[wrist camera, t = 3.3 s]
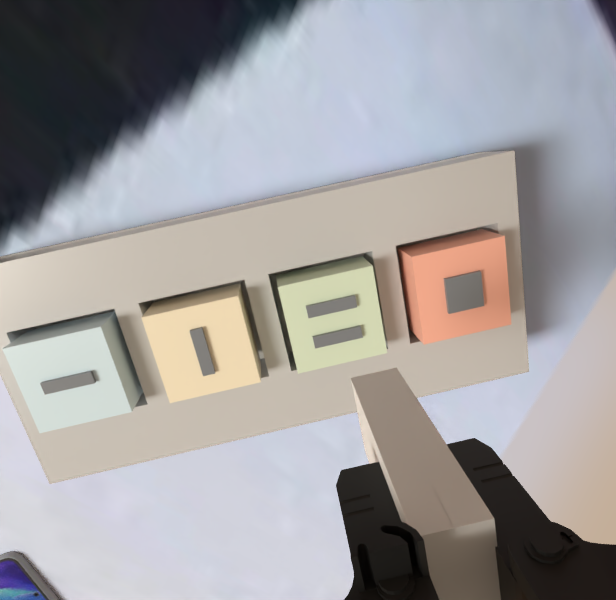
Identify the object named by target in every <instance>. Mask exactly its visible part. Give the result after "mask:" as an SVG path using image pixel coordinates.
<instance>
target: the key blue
mask: <svg viewBox="0 0 616 600" xmlns="http://www.w3.org/2000/svg"><path fill="white" fill-rule="evenodd" d="M2 350H3V352H4V354H5V356H6V359H7V361H8V363H9V365H10V368H11V370H12V372H13V375H14V377H15V379H16V381H17V384H18V386H19V388H20V390H21V393H22V395H23V397H24V399H25V402H26V404H27V406H28V408H29V411H30V413H31V415H32V417H33V420H34V422H35V424H36V426H37V429H38V431H39V433H43V432H48V431H52V430H56V429H61V428H65V427H69V426H74V425H78V424H82V423H87V422H91V421H95V420H100V419H104V418H108V417H113V416H117V415H121V414H126V413H130V412H132V411H133V409H134V407H135V406H136V404H137V402H138V400H139V398H140V396H141V394H142V392H143V389H142V386H141V383H140V381H139V378H138V375H137V372H136V369H135V366H134V364H133V361H132V358H131V355H130V352H129V349H128V347H127V344H126V341H125V338H124V335H123V332H122V330H121V327H120V324H119V321H118V318H117V315H116V313H115V311H114V312H109V313H105V314H101V315H96V316H92V317H87V318H83V319H78V320H74V321H69V322H65V323H60V324H56V325H51V326H47V327H42V328H38V329H33V330H29V331H27V332H25V333H24V334H22V335H21V336H20V337H18V338H17V339H15V340H14V341H13V342H11V343H10V344H8V345H7V346H5V347H4V348H3V349H2Z"/></svg>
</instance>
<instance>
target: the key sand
mask: <svg viewBox="0 0 616 600" xmlns="http://www.w3.org/2000/svg"><path fill="white" fill-rule="evenodd" d="M141 319H142V322H143V325H144V328H145V331H146V334H147V336H148V339H149V342H150V345H151V348H152V351H153V354H154V357H155V360H156V363H157V366H158V369H159V372H160V375H161V378H162V381H163V384H164V387H165V390H166V393H167V396H168V399H169V402H170V403H173V402H178V401H182V400H186V399H191V398H195V397H199V396H204V395H208V394H212V393H217V392H221V391H225V390H230V389H234V388H238V387H243V386H247V385H251V384H256V383H260V382H261V361H260V357H259V353H258V349H257V345H256V341H255V338H254V334H253V330H252V326H251V322H250V318H249V314H248V311H247V307H246V303H245V299H244V295H243V291H242V287H241V284H240V283H239V284H235V285H230V286H226V287H221V288H217V289H212V290H208V291H203V292H199V293H194V294H190V295H185V296H181V297H176V298H172V299H168V300H163V301H159V302H154V303H152V305H151V306H150V307H149V308H148V310H147V311H146V312H145V313H144V315H143V316H142V317H141Z"/></svg>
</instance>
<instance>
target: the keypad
mask: <svg viewBox="0 0 616 600" xmlns="http://www.w3.org/2000/svg"><path fill="white" fill-rule="evenodd" d="M480 229H483V230H486V231H490V232H493V233H497V234H500V235H503V236H505V245H506V258H507V271H508V284H509V297H510V310H511V323H512V324H511V325H507V326H502V327H498V328H494V329H490V330H485V331H481V332H477V333H472V334H468V335H464V336H459V337H455V338H451V339H446V340H442V341H438V342H433V343H429V344H425V345H424V344H423V343H422V342H421V341H420V340H419V339H418V338H417V336H416V335H415V334H414V333H413V332H412V331H411V330H410V329H409V323H408V316H407V310H406V303H405V296H404V289H403V283H402V276H401V269H400V263H399V256H398V249H397V248H400V247H404V246H409V245H413V244H418V243H422V242H427V241H431V240H436V239H440V238H445V237H449V236H454V235H458V234H462V233H467V232H471V231H476V230H480ZM360 256H363V257H364V258H365V259H366V260H367V261H368V262H369V263H370V264H371V265H372V266H373V271H374V277H375V283H376V289H377V295H378V301H379V307H380V313H381V319H382V325H383V331H384V337H385V343H386V348H387V353H386V354H381V355H377V356H373V357H368V358H364V359H360V360H355V361H351V362H347V363H342V364H338V365H334V366H329V367H325V368H321V369H316V370H312V371H308V372H303V373H299V374H298V372H297V367H296V363H295V359H294V355H293V350H292V346H291V342H290V338H289V333H288V329H287V325H286V321H285V316H284V312H283V308H282V304H281V299H280V295H279V291H278V286H277V278H276V275H279V274H284V273H288V272H293V271H297V270H302V269H306V268H311V267H315V266H319V265H324V264H328V263H333V262H337V261H342V260H346V259H351V258H355V257H360ZM239 283H240V284H241V287H242V291H243V295H244V299H245V303H246V307H247V311H248V314H249V318H250V322H251V326H252V330H253V334H254V338H255V341H256V345H257V349H258V353H259V357H260V361H261V382H260V383H256V384H251V385H247V386H243V387H238V388H234V389H230V390H225V391H221V392H217V393H212V394H208V395H204V396H199V397H195V398H191V399H186V400H182V401H178V402H173V403H170V402H169V399H168V396H167V393H166V390H165V387H164V384H163V381H162V378H161V375H160V372H159V369H158V366H157V363H156V360H155V357H154V354H153V351H152V348H151V345H150V342H149V339H148V336H147V334H146V331H145V328H144V325H143V322H142V319H141V317H142V316H143V315H144V313H145V312H146V311H147V310H148V308H149V307H150V306H151V305H152V303H154V302H159V301H163V300H168V299H172V298H176V297H181V296H185V295H190V294H194V293H199V292H203V291H208V290H212V289H217V288H221V287H226V286H230V285H235V284H239ZM114 311H115V313H116V315H117V318H118V321H119V324H120V327H121V330H122V332H123V335H124V338H125V341H126V344H127V347H128V349H129V352H130V355H131V358H132V361H133V364H134V366H135V369H136V372H137V375H138V378H139V381H140V383H141V386H142V389H143V392H142V394H141V396H140V398H139V400H138V402H137V404H136V406H135V407H134V409H133V411H132V412H130V413H126V414H121V415H117V416H113V417H108V418H104V419H100V420H95V421H91V422H87V423H82V424H78V425H74V426H69V427H65V428H61V429H56V430H52V431H48V432H43V433H39V431H38V429H37V426H36V424H35V422H34V420H33V417H32V415H31V413H30V411H29V408H28V406H27V404H26V402H25V399H24V397H23V395H22V393H21V390H20V388H19V386H18V384H17V381H16V379H15V377H14V375H13V372H12V370H11V368H10V365H9V363H8V361H7V359H6V356H5V354H4V352H3V350H2V349H3V348H4V347H5V346H7V345H8V344H10V343H11V342H13V341H14V340H15V339H17V338H18V337H20V336H21V335H22V334H24V333H25V332H27V331H29V330H33V329H38V328H42V327H47V326H51V325H56V324H60V323H65V322H69V321H74V320H78V319H83V318H87V317H92V316H96V315H101V314H105V313H109V312H114ZM392 368H397V369H398V370H399V372H400V373H401V375H402V377H403V378H404V380H405V381H406V383H407V384H408V386H409V387H410V389H411V390H412V392H413V394H414V395H415V397H416V398H419V397H423V396H427V395H432V394H436V393H440V392H444V391H449V390H453V389H457V388H461V387H466V386H470V385H474V384H478V383H483V382H487V381H491V380H496V379H500V378H504V377H508V376H513V375H517V374H521V373H525V372H529V363H528V348H527V333H526V317H525V302H524V287H523V272H522V257H521V242H520V227H519V211H518V196H517V181H516V166H515V151H496V152H478V153H473V154H468V155H464V156H459V157H454V158H450V159H445V160H441V161H436V162H432V163H427V164H422V165H418V166H413V167H409V168H404V169H400V170H395V171H390V172H386V173H381V174H377V175H372V176H367V177H363V178H358V179H354V180H349V181H345V182H340V183H335V184H331V185H326V186H322V187H317V188H313V189H308V190H303V191H299V192H294V193H290V194H285V195H280V196H276V197H271V198H267V199H262V200H258V201H253V202H248V203H244V204H239V205H235V206H230V207H226V208H221V209H216V210H212V211H207V212H203V213H198V214H193V215H189V216H184V217H180V218H175V219H171V220H166V221H161V222H157V223H152V224H148V225H143V226H139V227H134V228H129V229H125V230H120V231H116V232H111V233H106V234H102V235H97V236H93V237H88V238H84V239H79V240H74V241H70V242H65V243H61V244H56V245H52V246H47V247H42V248H38V249H33V250H29V251H24V252H19V253H15V254H10V255H6V256H1V257H0V375H1V377H2V380H3V382H4V384H5V386H6V388H7V391H8V393H9V395H10V397H11V399H12V402H13V404H14V406H15V408H16V410H17V413H18V415H19V417H20V419H21V421H22V424H23V426H24V428H25V430H26V433H27V435H28V437H29V439H30V441H31V444H32V446H33V448H34V450H35V452H36V455H37V457H38V459H39V461H40V463H41V466H42V468H43V470H44V472H45V475H46V477H47V479H48V481H49V483H50V484H52V483H56V482H61V481H65V480H69V479H73V478H78V477H82V476H86V475H90V474H95V473H99V472H103V471H108V470H112V469H116V468H120V467H125V466H129V465H133V464H137V463H142V462H146V461H150V460H154V459H159V458H163V457H167V456H171V455H176V454H180V453H184V452H189V451H193V450H197V449H201V448H206V447H210V446H214V445H218V444H223V443H227V442H231V441H235V440H240V439H244V438H248V437H252V436H257V435H261V434H265V433H270V432H274V431H278V430H282V429H287V428H291V427H295V426H299V425H304V424H308V423H312V422H316V421H321V420H325V419H329V418H333V417H338V416H342V415H346V414H351V413H355V412H357V407H356V402H355V397H354V392H353V387H352V382H351V378H353V377H357V376H361V375H366V374H370V373H375V372H379V371H383V370H388V369H392Z"/></svg>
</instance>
